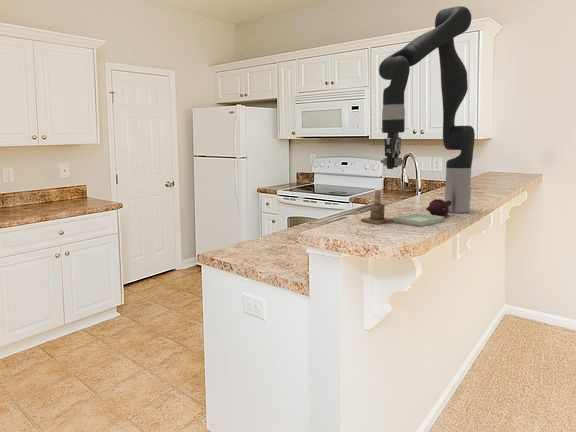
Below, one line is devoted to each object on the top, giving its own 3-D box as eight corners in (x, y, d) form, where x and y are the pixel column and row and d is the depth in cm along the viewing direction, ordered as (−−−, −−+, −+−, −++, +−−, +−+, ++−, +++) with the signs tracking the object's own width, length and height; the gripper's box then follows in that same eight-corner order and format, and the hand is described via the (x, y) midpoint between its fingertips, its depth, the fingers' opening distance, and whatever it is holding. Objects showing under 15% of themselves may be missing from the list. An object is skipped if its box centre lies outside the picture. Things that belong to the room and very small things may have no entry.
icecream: (438, 203, 162) (460, 202, 172) (421, 196, 167) (443, 196, 177) (432, 221, 164) (454, 220, 174) (415, 214, 169) (438, 213, 179)
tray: (416, 217, 170) (416, 212, 170) (444, 221, 161) (444, 216, 161) (392, 222, 162) (392, 217, 161) (420, 226, 153) (420, 221, 152)
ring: (406, 164, 161) (406, 157, 161) (402, 165, 156) (402, 158, 155) (383, 164, 165) (383, 157, 164) (378, 165, 159) (378, 158, 159)
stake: (376, 218, 169) (376, 188, 167) (393, 221, 162) (394, 190, 161) (360, 221, 164) (361, 190, 162) (378, 224, 158) (379, 192, 156)
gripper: (399, 118, 149) (398, 170, 152) (408, 118, 162) (407, 166, 165) (376, 118, 153) (376, 169, 156) (387, 119, 165) (387, 166, 168)
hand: (392, 167), depth 160 cm, fingers closed on ring, 6 cm apart
